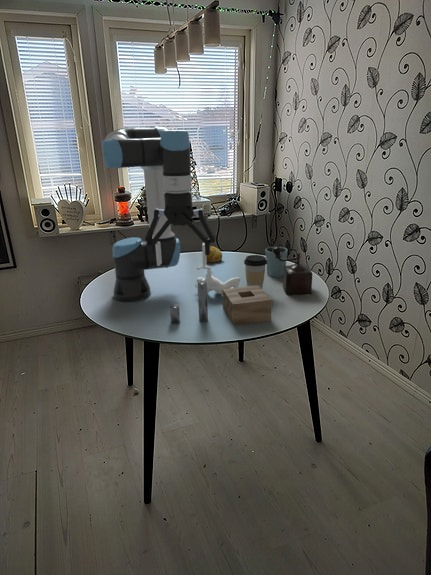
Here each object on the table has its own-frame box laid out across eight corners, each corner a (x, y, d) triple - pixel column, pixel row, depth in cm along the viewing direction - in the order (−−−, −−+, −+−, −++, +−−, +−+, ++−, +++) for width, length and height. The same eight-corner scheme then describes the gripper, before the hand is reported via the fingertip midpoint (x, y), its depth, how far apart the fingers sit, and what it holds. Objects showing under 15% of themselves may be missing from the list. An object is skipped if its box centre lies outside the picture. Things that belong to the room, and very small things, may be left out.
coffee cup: (242, 288, 163) (242, 254, 157) (264, 287, 163) (265, 253, 158) (245, 297, 154) (245, 261, 148) (268, 295, 154) (269, 260, 149)
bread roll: (202, 256, 206) (201, 242, 203) (219, 255, 207) (219, 241, 204) (204, 264, 194) (204, 249, 191) (223, 263, 195) (223, 248, 192)
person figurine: (239, 265, 158) (197, 262, 153) (247, 282, 147) (202, 279, 143) (233, 291, 165) (192, 288, 160) (239, 309, 154) (196, 306, 150)
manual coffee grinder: (306, 284, 165) (308, 244, 158) (311, 294, 155) (315, 252, 148) (270, 285, 165) (271, 245, 158) (273, 295, 155) (275, 253, 148)
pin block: (222, 308, 144) (222, 289, 141) (257, 304, 147) (258, 285, 144) (233, 325, 132) (232, 304, 129) (271, 320, 134) (271, 299, 131)
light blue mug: (281, 279, 172) (282, 253, 167) (261, 275, 177) (261, 250, 172) (289, 272, 180) (290, 248, 175) (270, 269, 185) (270, 245, 180)
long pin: (198, 318, 137) (196, 282, 132) (206, 317, 138) (205, 281, 133) (200, 322, 134) (198, 285, 129) (208, 321, 135) (207, 284, 130)
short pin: (170, 320, 136) (169, 305, 134) (179, 319, 137) (178, 304, 134) (171, 324, 133) (170, 309, 131) (180, 323, 134) (179, 308, 131)
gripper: (129, 193, 101) (137, 268, 110) (221, 193, 98) (222, 270, 106) (138, 189, 108) (144, 259, 116) (224, 189, 105) (225, 261, 113)
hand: (182, 264), depth 111 cm, fingers open, 13 cm apart
